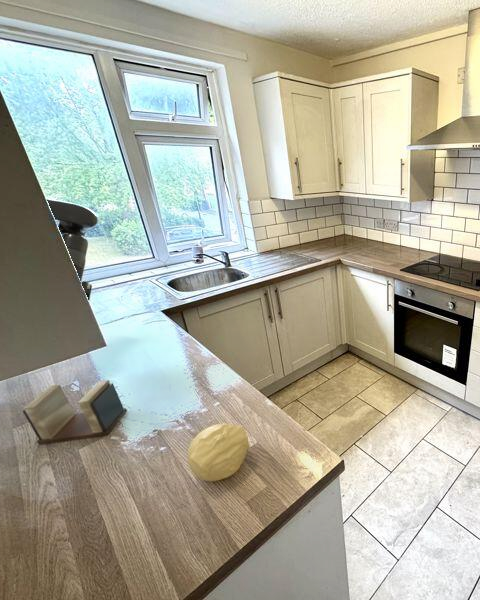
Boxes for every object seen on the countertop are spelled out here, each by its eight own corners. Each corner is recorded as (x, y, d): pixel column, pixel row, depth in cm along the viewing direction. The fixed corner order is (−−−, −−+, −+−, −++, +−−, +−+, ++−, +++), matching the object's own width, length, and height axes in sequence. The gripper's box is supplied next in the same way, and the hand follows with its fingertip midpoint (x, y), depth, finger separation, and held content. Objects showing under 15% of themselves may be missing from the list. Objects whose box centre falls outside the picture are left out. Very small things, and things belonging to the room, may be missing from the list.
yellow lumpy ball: (210, 501, 68) (197, 464, 63) (184, 470, 74) (171, 434, 70) (260, 463, 76) (252, 428, 72) (233, 438, 83) (224, 405, 78)
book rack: (38, 444, 81) (17, 409, 76) (64, 418, 89) (47, 385, 84) (107, 435, 83) (91, 401, 79) (127, 410, 91) (113, 378, 87)
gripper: (27, 261, 94) (12, 315, 89) (85, 259, 97) (73, 311, 91) (49, 273, 101) (36, 323, 96) (102, 270, 104) (93, 319, 98)
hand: (54, 317), depth 94 cm, fingers closed on small box, 7 cm apart
